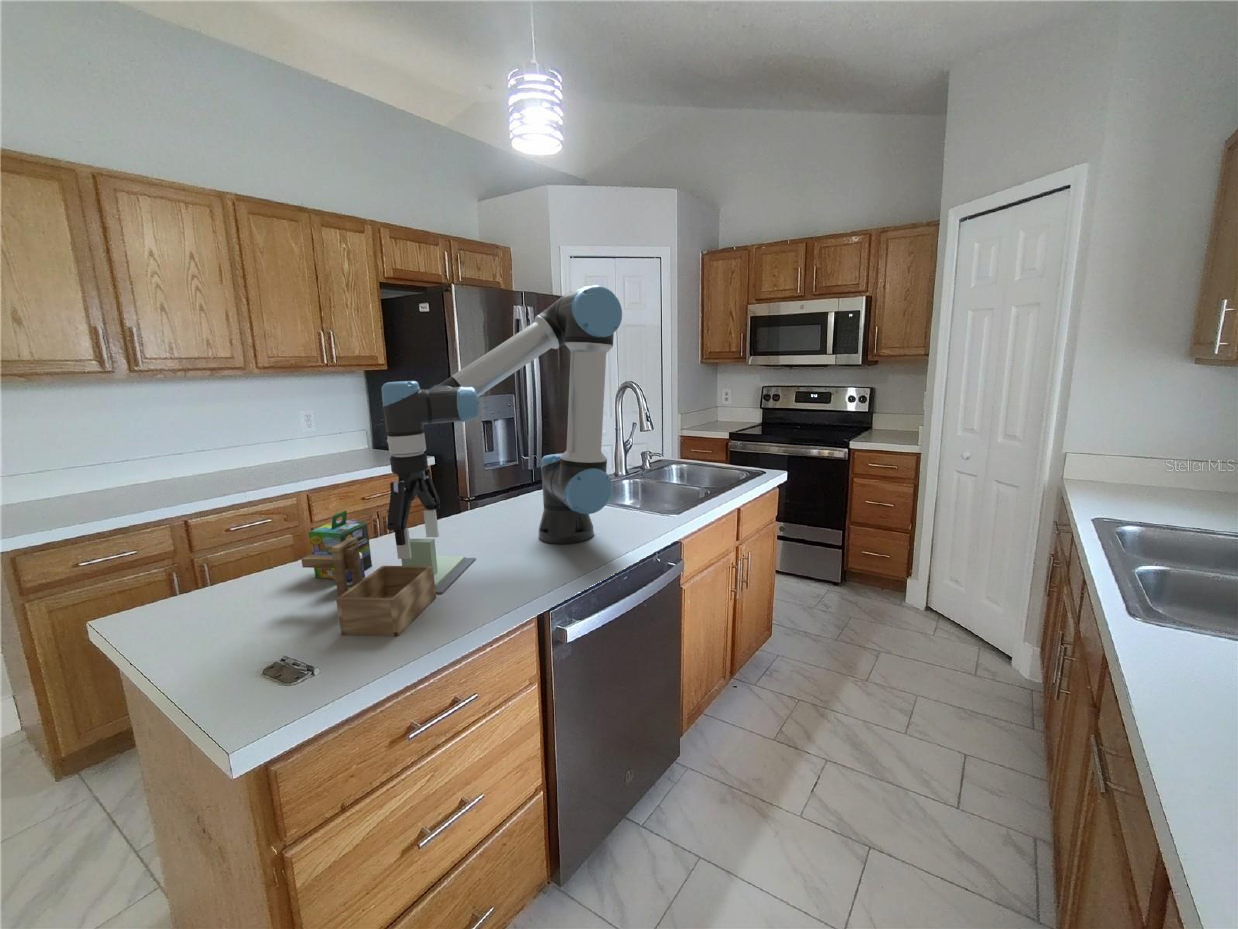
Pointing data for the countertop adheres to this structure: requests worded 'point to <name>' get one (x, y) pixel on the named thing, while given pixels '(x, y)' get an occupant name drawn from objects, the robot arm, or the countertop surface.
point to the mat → (454, 575)
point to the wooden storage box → (380, 596)
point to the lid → (432, 559)
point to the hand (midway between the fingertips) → (419, 547)
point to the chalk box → (339, 541)
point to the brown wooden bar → (326, 561)
